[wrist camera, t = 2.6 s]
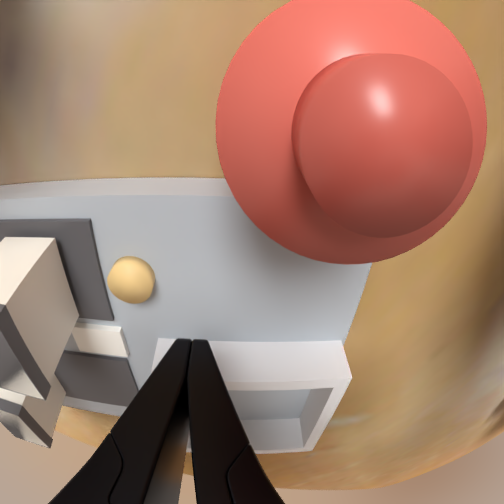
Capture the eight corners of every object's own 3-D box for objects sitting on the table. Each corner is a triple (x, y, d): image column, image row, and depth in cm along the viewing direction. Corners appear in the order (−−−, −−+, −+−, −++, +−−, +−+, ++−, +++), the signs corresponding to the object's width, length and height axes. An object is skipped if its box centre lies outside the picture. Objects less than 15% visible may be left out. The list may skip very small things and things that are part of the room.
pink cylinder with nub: (372, 41, 8) (534, 46, 2) (355, 164, 10) (466, 291, 5) (232, 22, 8) (221, -54, 2) (225, 155, 10) (210, 293, 4)
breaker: (55, 236, 9) (-5, 320, 6) (80, 316, 11) (46, 400, 8) (3, 235, 9) (-58, 308, 6) (31, 310, 11) (-8, 384, 8)
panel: (371, 188, 11) (450, 284, 6) (306, 403, 19) (319, 481, 14) (-55, 192, 10) (-127, 255, 5) (30, 378, 17) (6, 442, 13)
